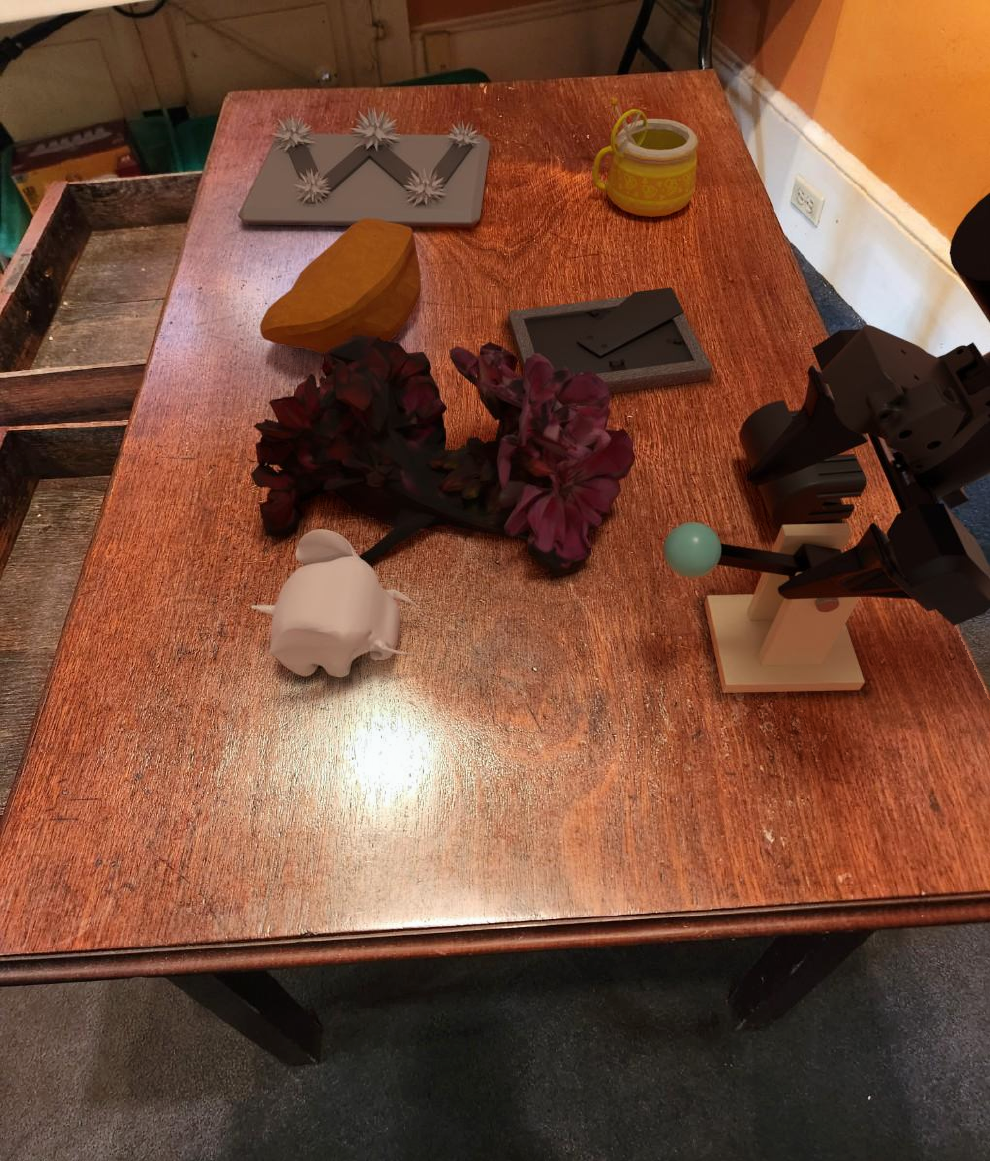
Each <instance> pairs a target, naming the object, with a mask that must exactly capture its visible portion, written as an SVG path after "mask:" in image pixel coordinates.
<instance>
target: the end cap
mask: <svg viewBox="0 0 990 1161" xmlns="http://www.w3.org/2000/svg"><path fill="white" fill-rule="evenodd" d="M799 411H800V409H797V410H789V408H788V406H787V404H786V401H785V400H783V399H781V400H776V401H772V402H769V403H766V404H764V405H762V406H761V407H759V408H757V409H755V411H753V412H752V413H750V415H748V416H747V418H745V420H744V422H743V423H742V425H741V427H740V429H739V442H740V444H741V447H742V450H743V452H744V454H745V457H746V459H747V462H748V465H749V467H750V470H751V469H752V468H753V466H754V465H755V464H756V463H757V462H758V461H759V459H760V458H761V457H762V456H763V455H764V454H765V453H766V451H767V450H768V449H769V448H770V447H771V446H772V444H773V443H774V442H775V441H776V440H777V439H778V437H779V436H780V435H781V434H782V433H783V432H784V430H785V429H786V428H787V427H788V426H789V424H790V423H791V422H792V420H793V419H794V418H795V416H796V415H797V414H798V412H799ZM867 481H868V480H867V475H866V474H865V471H864V470H863V467H862V466H861V464H860V462H859V459H858V457H857V455H856V454H855V453H846V454H845V453H844V454H838V455H836V456H833V457H831V458H829V459H826V460H824V461H821V462H819V463H817V464H814V465H812V466H809V467H807V468H805V469H802V470H800V471H798V472H795V473H793V474H790V475H788V476H786V477H783V478H781V479H778V480H775V481H772V482H769V483H766V484H763V485H760V486H757V487H758V488H757V489H758V490H759V493H760V496H761V498H762V500H763V503H764V505H765V508H766V510H767V513H768V516H769V519H770V520H771V521H770V522H771V523H772V525H773V526H774V527H775V528H776V530H779V531H780V529H781V527H782V525H795V524H838V523H844V521H843V520H846V519H847V520H848V519H851V516H852V515H853V512H854V510H855V508H856V507H855V505H854V503H845V504H844V503H843V501H842V499H846V498H847V499H849V498H860V497H862V495H863V493H864V491H865V489H866V488H867V483H868V482H867Z"/></svg>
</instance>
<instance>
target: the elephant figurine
mask: <svg viewBox="0 0 990 1161" xmlns="http://www.w3.org/2000/svg"><path fill="white" fill-rule="evenodd" d="M359 556H360V555H359V554H358V553H357V552H356V550H355V548H354V547H353V545H352V544H351V542H349V540H348V539H347V538H346V537H345V536H343V535H341V534H340V533H338V532H336V531H334V530H330V529H323V528H319V529H317V528H316V529H312V530H311V531H308V532H307V533H305V534H304V535H303V536H302V537H300V539H299V541H298V544H297V546H296V550H295V558H296V560H297V561H298V563H300V564H302V565H303V566H300V567H298V568H297V569H296V570H295V571H294V572H292V573H291V575H290V576H289V577H288V578H287V580H285V582H284V584H283V585H282V587H281V589H280V591H279V594H278V595H277V600H276V602H275V604H274V605H273V604H257V605H255V604H251V606H250V609H251V610H257V611H258V612H261V613H264V614H267V615H270V616H272V618H271V625H270V633H269V634H270V635H269V644H270V645H269V650H268V653H267V656H271V655H272V656H273V657H275V658H276V659H277V661H278V662H279V663H280V664H281V665H283V667H285V668H286V669H287V670H290V671H291V672H292V673H293V674H296V675H299V676H301V677H309V676H310V675H311V676H312V675H313V674H314V673H315V672H316V671H317V669H318V667H319V666H321V667H322V668H323V669H324V670H325V672H326V673H327V674H328V675H329V676H332V677H335V678H345V677H347V676H348V675H349V674H350V673H351V668H352V664H353V661H355V659H357V658H358V657H359V656H362V655H364V654H366V653H369V657H370V659H371V660H375V661H383V660H388V659H390V658H391V657H392V656H393V655H394V654H396V655H403V656H414V654H412V653H410V652H405V651H402V650H397V646H398V640H399V634H400V627H401V609H400V606H399V605H398V603H397V601H396V600H395V599H397V600H401V601H404V602H407V603H409V604H410V605H412V606H414V607H416V608H418V609H421V607H420V606H419V605H418V604H417V603H415V602H414V601H412V600H411V599H410V598H409V597H407V595H405V594H403V593H402V592H400V591H399V590H397V589H395V588H390V589H389V588H388V589H385V588H384V587H383V586H382V585H381V584H380V581H379V577H378V575H377V572H376V571H375V570H374V569H373V567H372V566H371V565H370V564H367V563H366V562H365V561H364V560H362V559H361V558H360V557H359Z"/></svg>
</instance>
